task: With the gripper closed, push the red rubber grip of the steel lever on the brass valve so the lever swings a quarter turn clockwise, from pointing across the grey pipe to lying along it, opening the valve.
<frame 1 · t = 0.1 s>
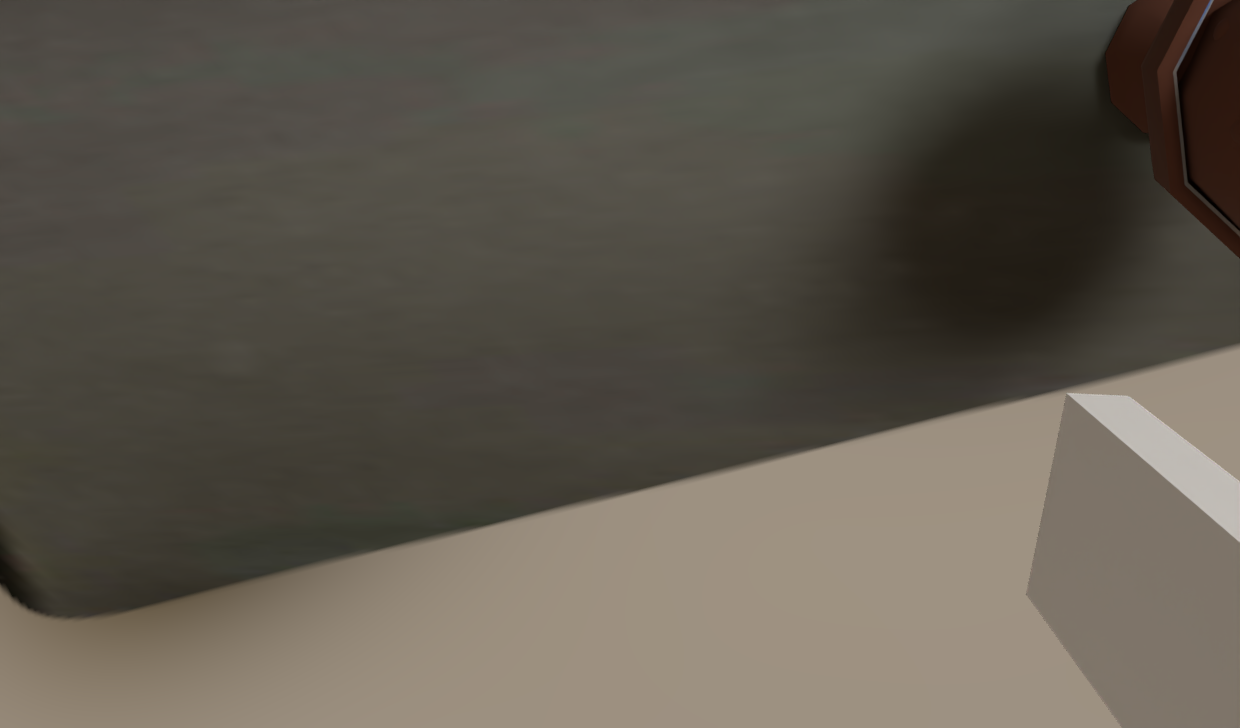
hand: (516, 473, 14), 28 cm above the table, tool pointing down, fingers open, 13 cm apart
ice cream bowl: (1180, 57, 40), on the table
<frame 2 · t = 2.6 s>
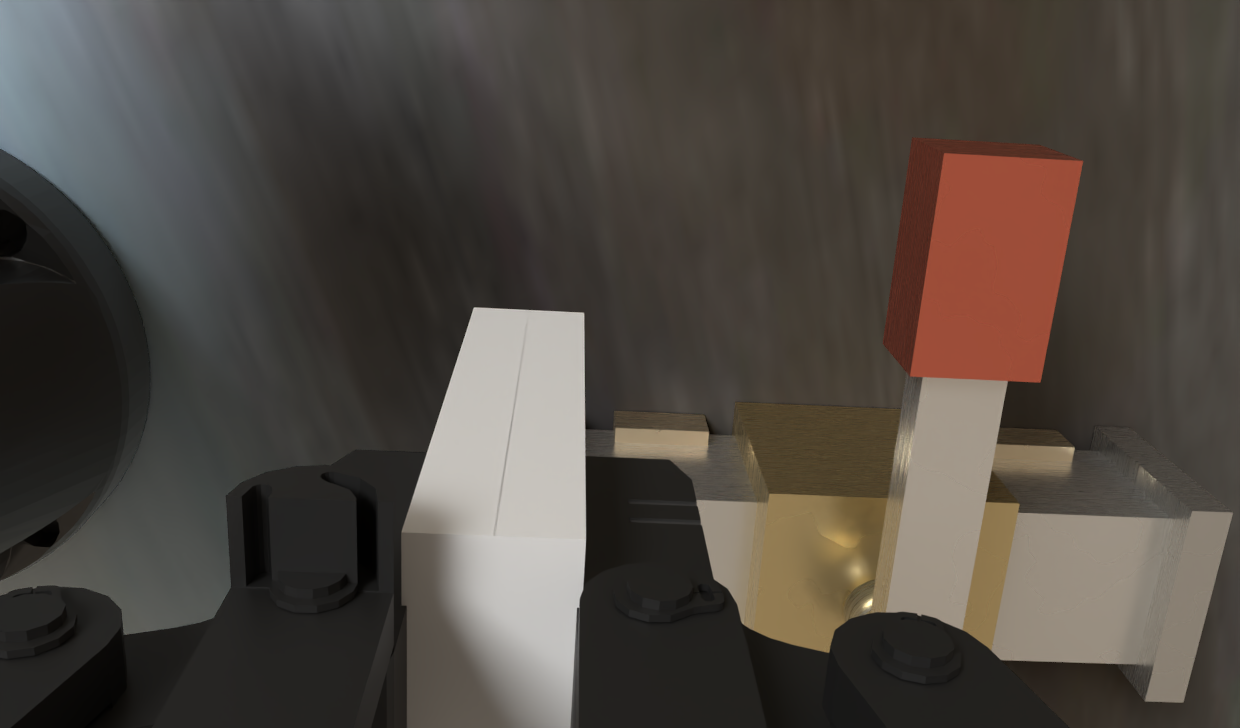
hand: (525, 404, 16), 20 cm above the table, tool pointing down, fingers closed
valve lever: (942, 461, 27), point 10 cm above the table, hinge at 90.0°
valve pipe: (826, 501, 39), on the table
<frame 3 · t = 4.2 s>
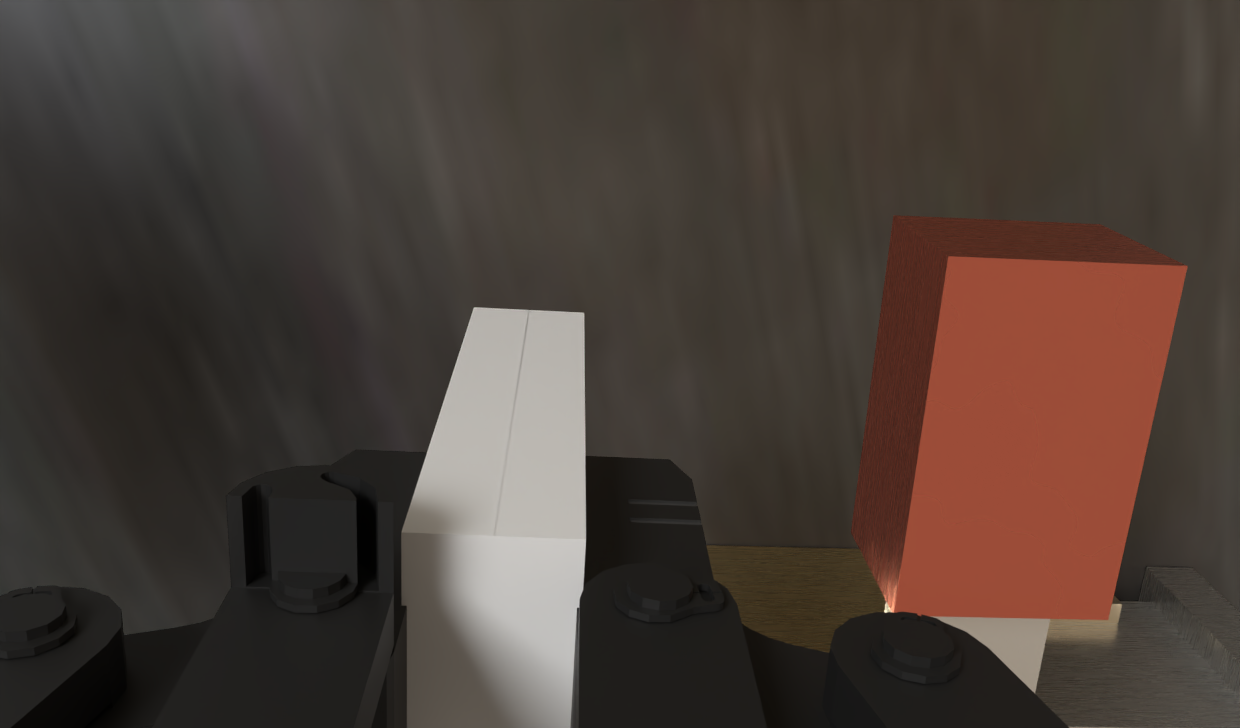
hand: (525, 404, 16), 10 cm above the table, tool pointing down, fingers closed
valve lever: (945, 719, 17), point 10 cm above the table, hinge at 90.0°
valve pipe: (785, 669, 29), on the table
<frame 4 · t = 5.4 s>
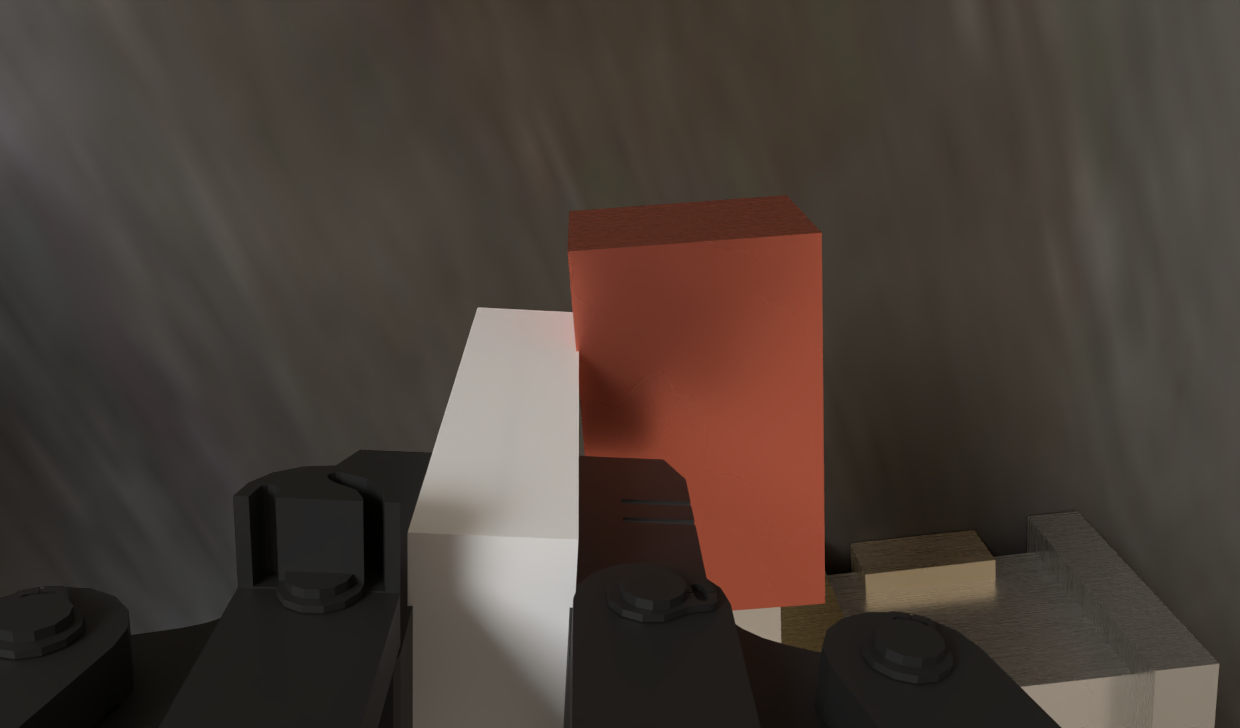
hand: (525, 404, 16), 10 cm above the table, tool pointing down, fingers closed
valve lever: (710, 718, 17), point 10 cm above the table, hinge at 87.7°, touching gripper
valve pipe: (676, 669, 28), on the table
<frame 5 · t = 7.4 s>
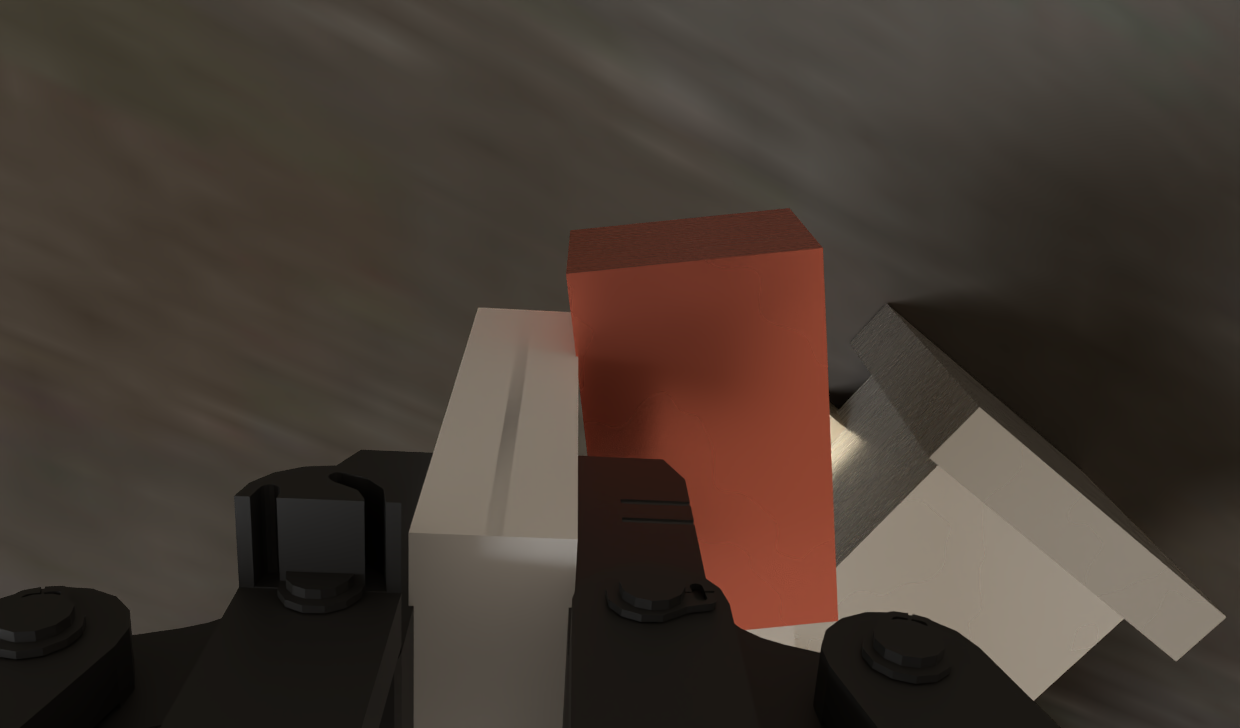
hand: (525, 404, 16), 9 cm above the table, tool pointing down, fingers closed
valve pipe: (698, 681, 28), on the table
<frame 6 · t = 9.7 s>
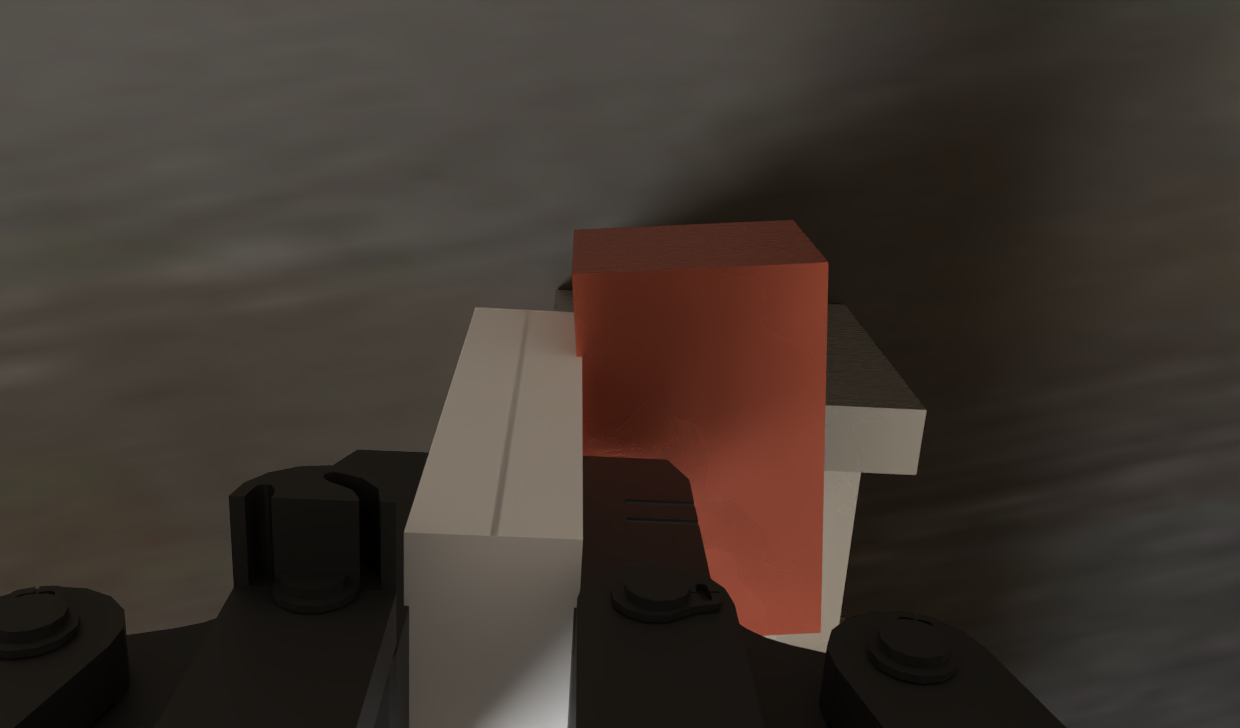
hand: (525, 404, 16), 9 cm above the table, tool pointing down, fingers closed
valve pipe: (667, 683, 28), on the table
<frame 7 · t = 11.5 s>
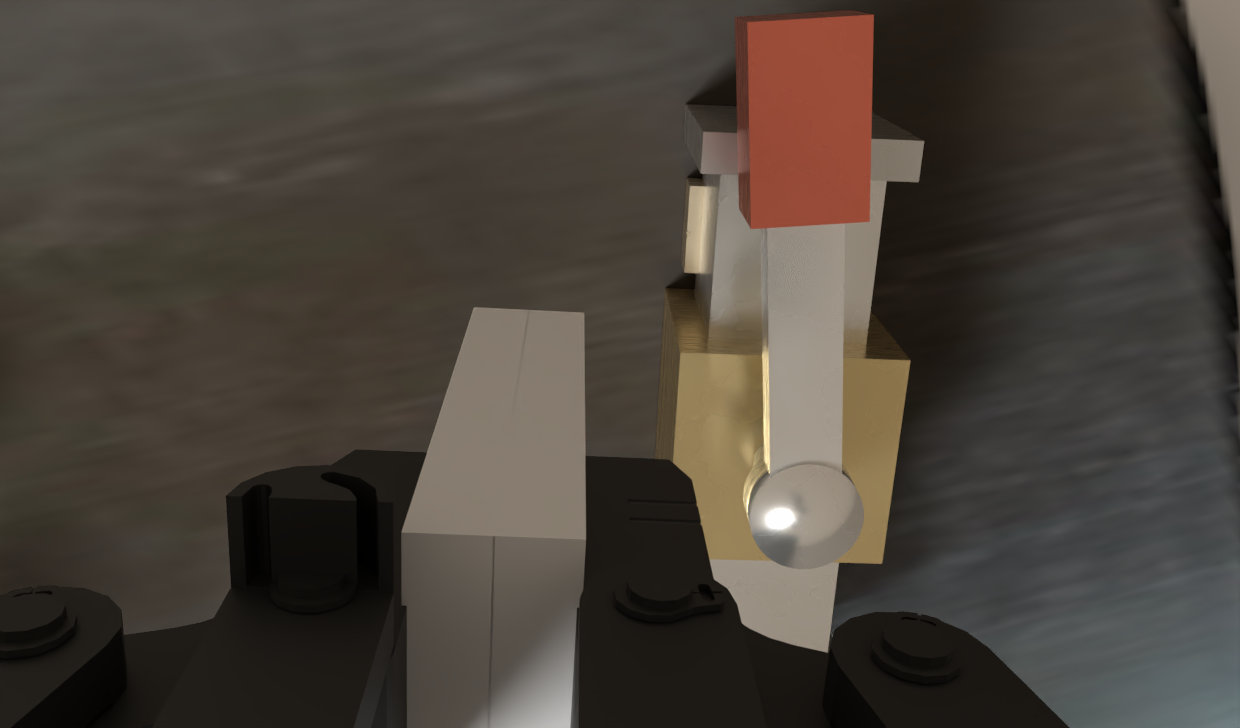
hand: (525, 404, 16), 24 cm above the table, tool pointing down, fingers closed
valve lever: (801, 308, 30), point 10 cm above the table, hinge at 5.8°
valve pipe: (753, 382, 42), on the table
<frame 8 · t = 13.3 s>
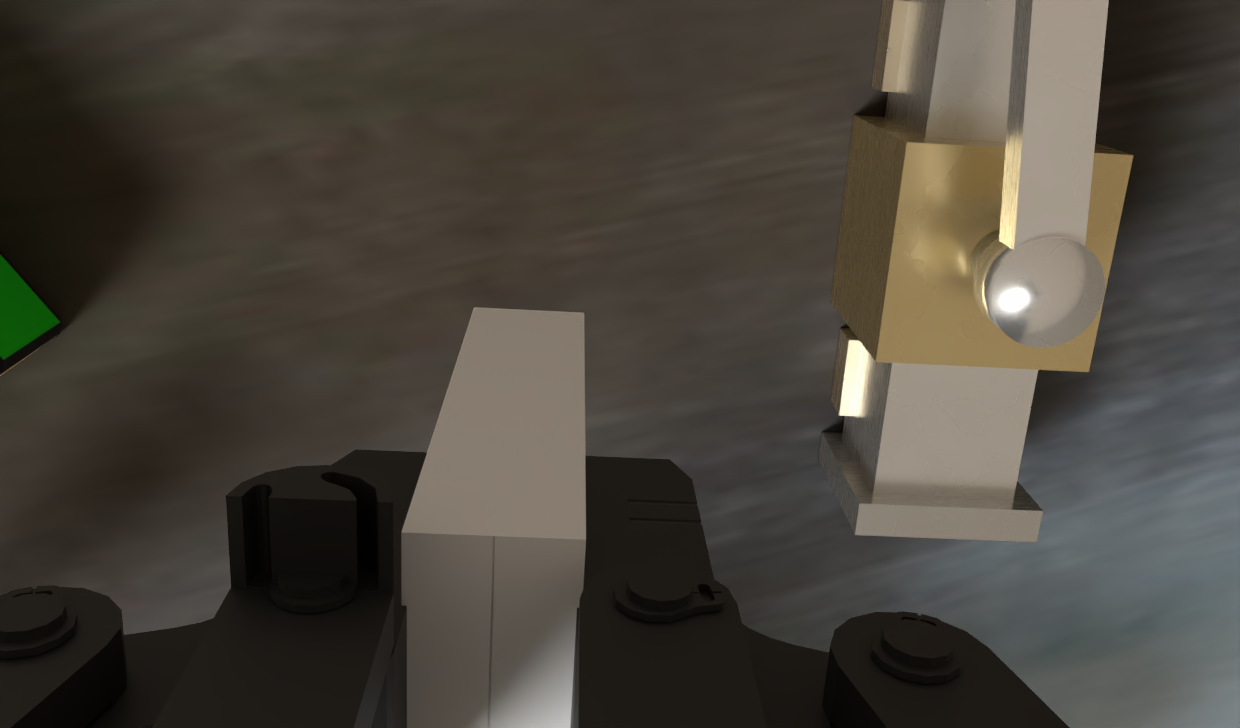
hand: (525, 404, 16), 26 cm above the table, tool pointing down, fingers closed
valve lever: (1055, 73, 31), point 10 cm above the table, hinge at 5.8°
valve pipe: (935, 216, 42), on the table
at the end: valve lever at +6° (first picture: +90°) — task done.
